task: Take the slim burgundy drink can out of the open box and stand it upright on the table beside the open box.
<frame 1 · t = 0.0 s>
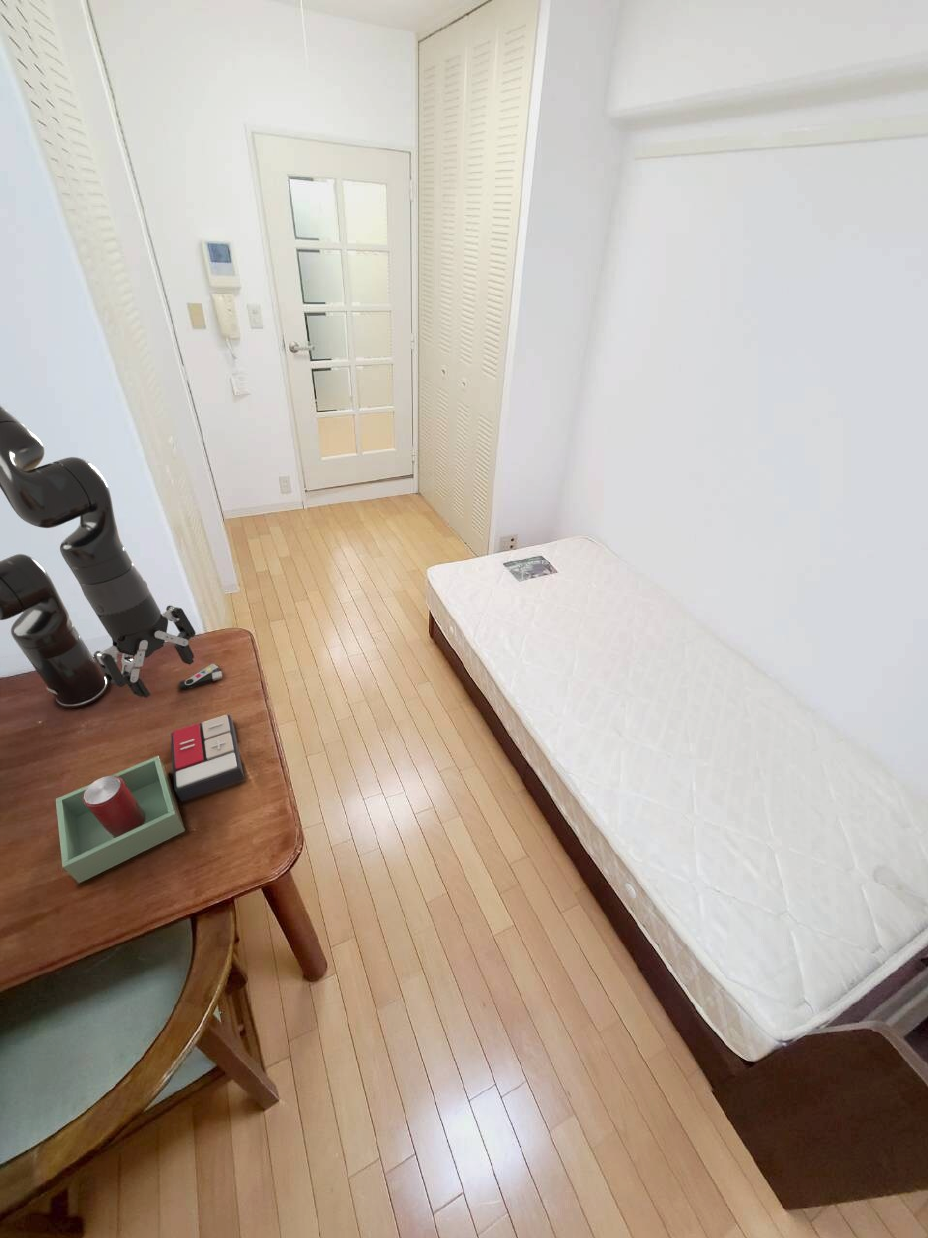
hand: (167, 678, 84), 22 cm above the table, tool pointing down, fingers open, 8 cm apart
open box: (128, 825, 88), on the table
calculator: (209, 761, 98), on the table
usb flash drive: (201, 678, 115), on the table
can: (127, 823, 87), point 1 cm above the table, touching open box
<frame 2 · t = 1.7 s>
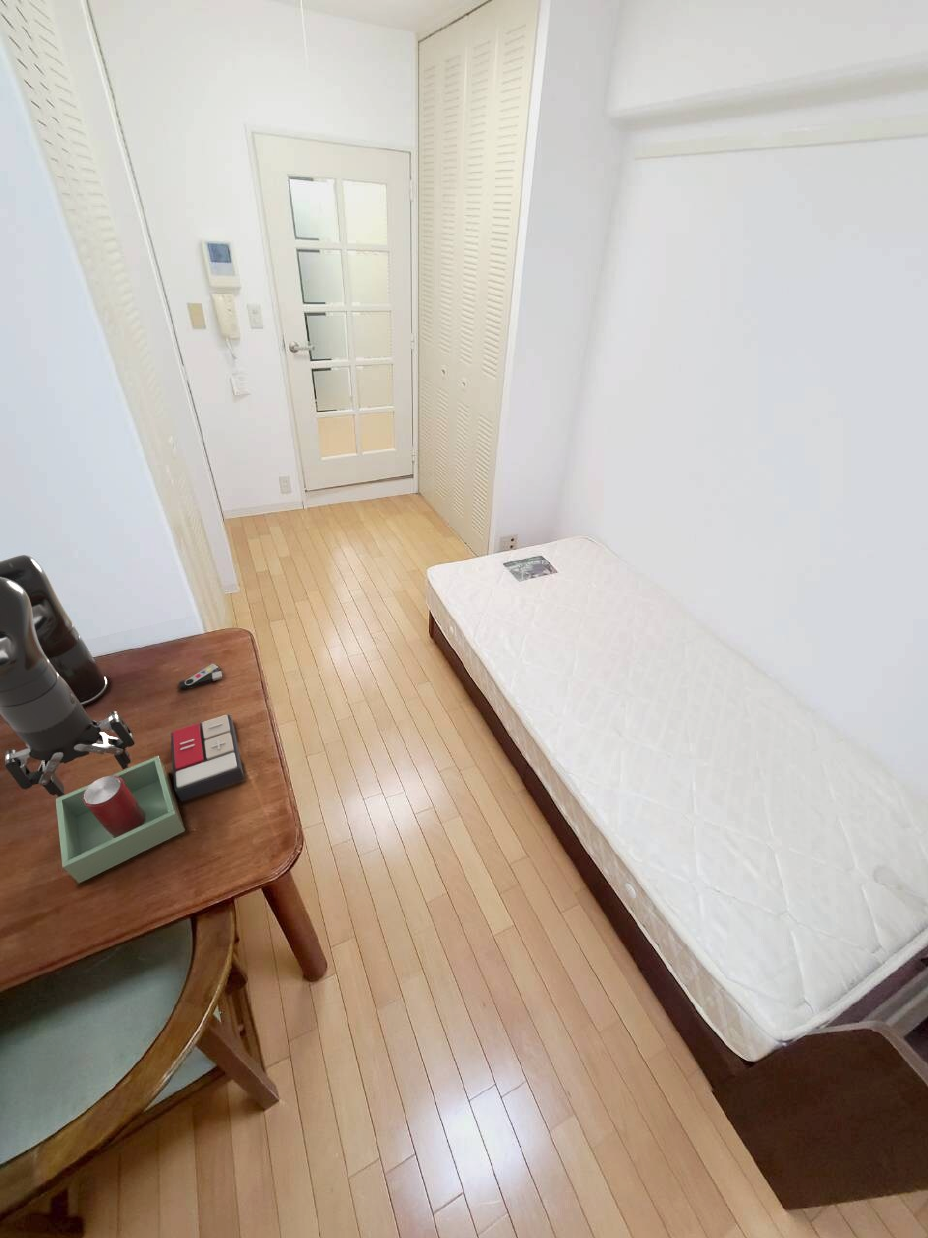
hand: (93, 777, 78), 14 cm above the table, tool pointing down, fingers open, 8 cm apart
nothing on the table moved.
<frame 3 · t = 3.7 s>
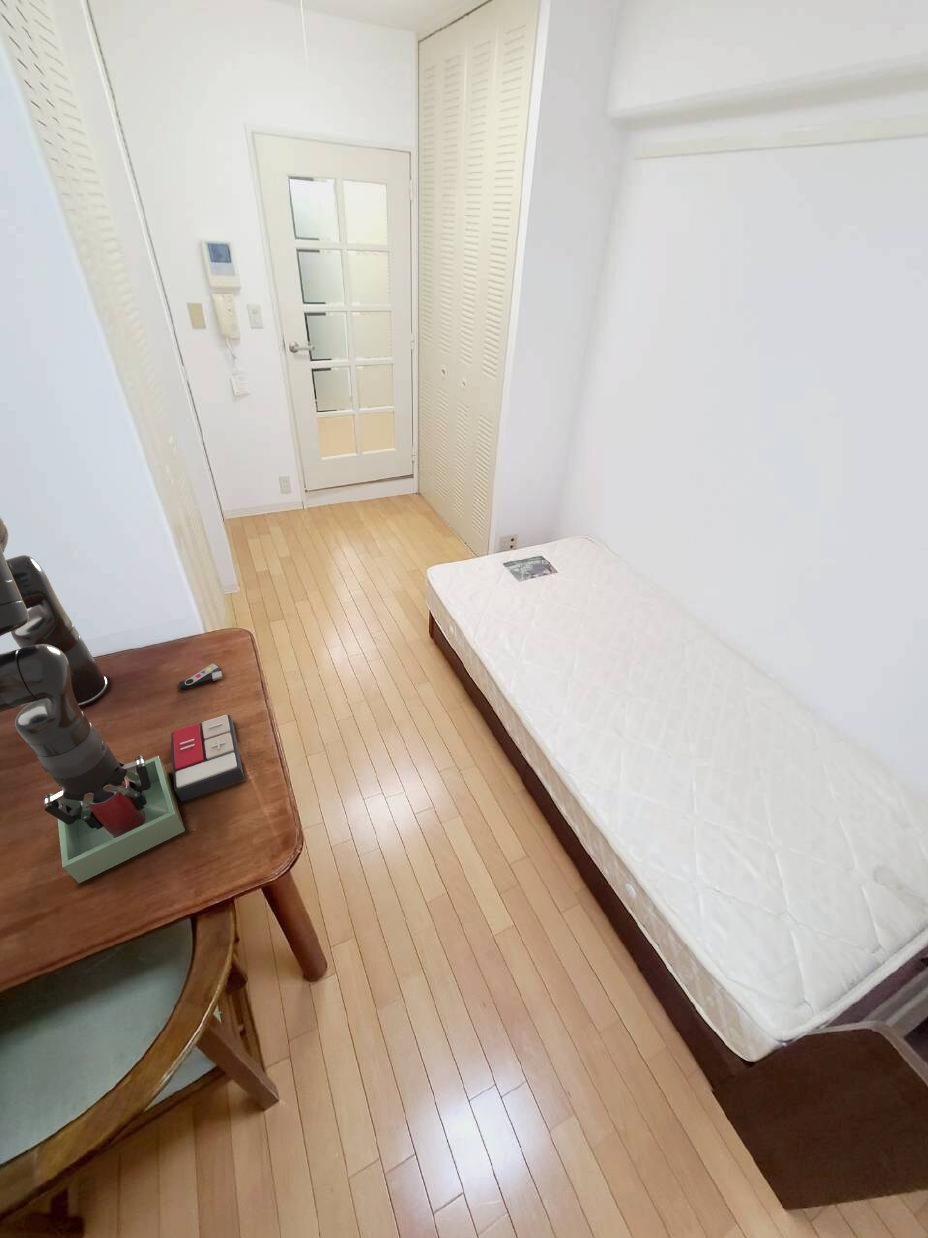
hand: (120, 814, 85), 4 cm above the table, tool pointing down, fingers closed on can, 5 cm apart
can: (127, 823, 87), point 1 cm above the table, touching open box, gripper
everything else where it was.
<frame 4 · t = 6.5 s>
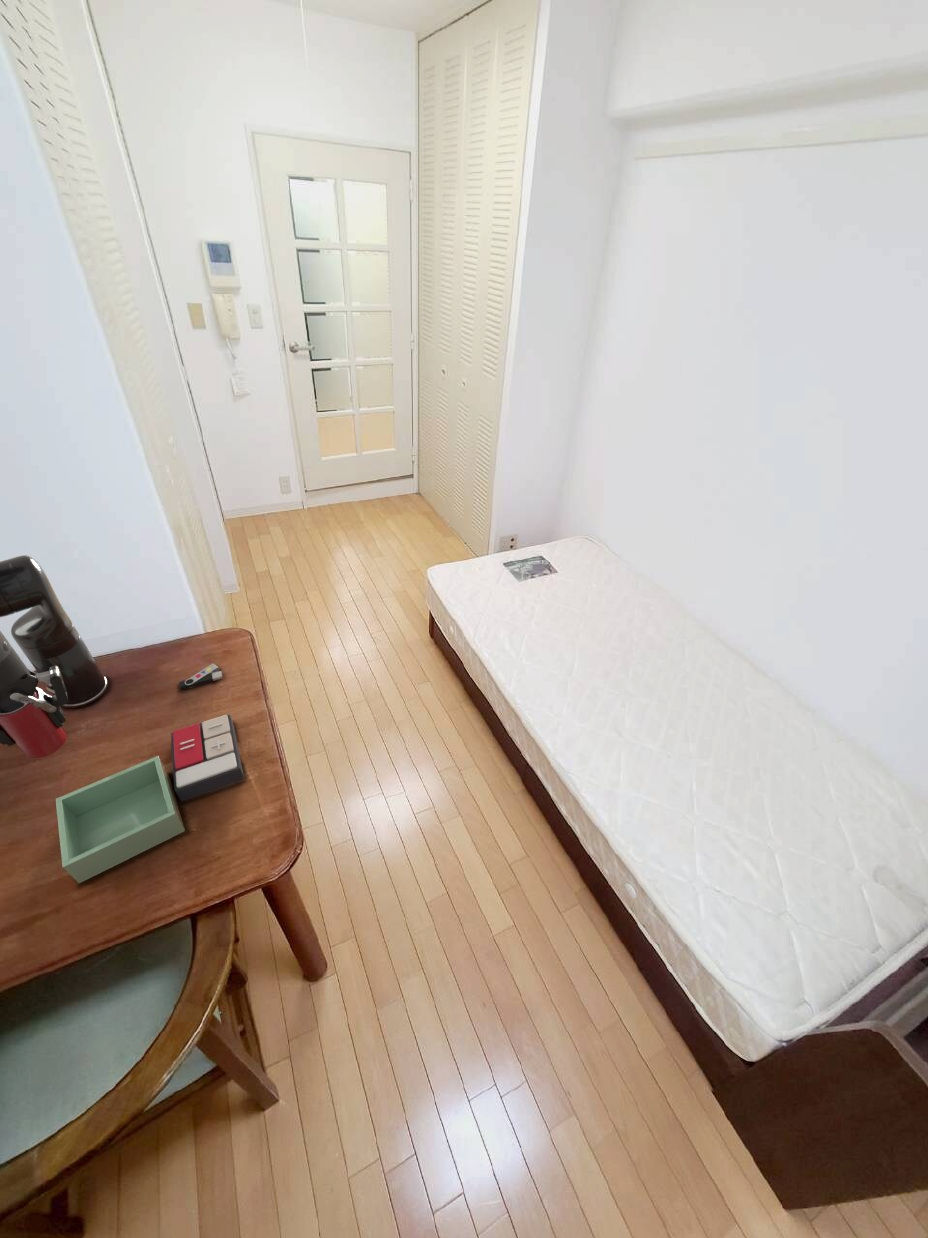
hand: (36, 732, 79), 19 cm above the table, tool pointing down, fingers closed on can, 5 cm apart
can: (45, 743, 81), point 16 cm above the table, touching gripper
everything else where it was.
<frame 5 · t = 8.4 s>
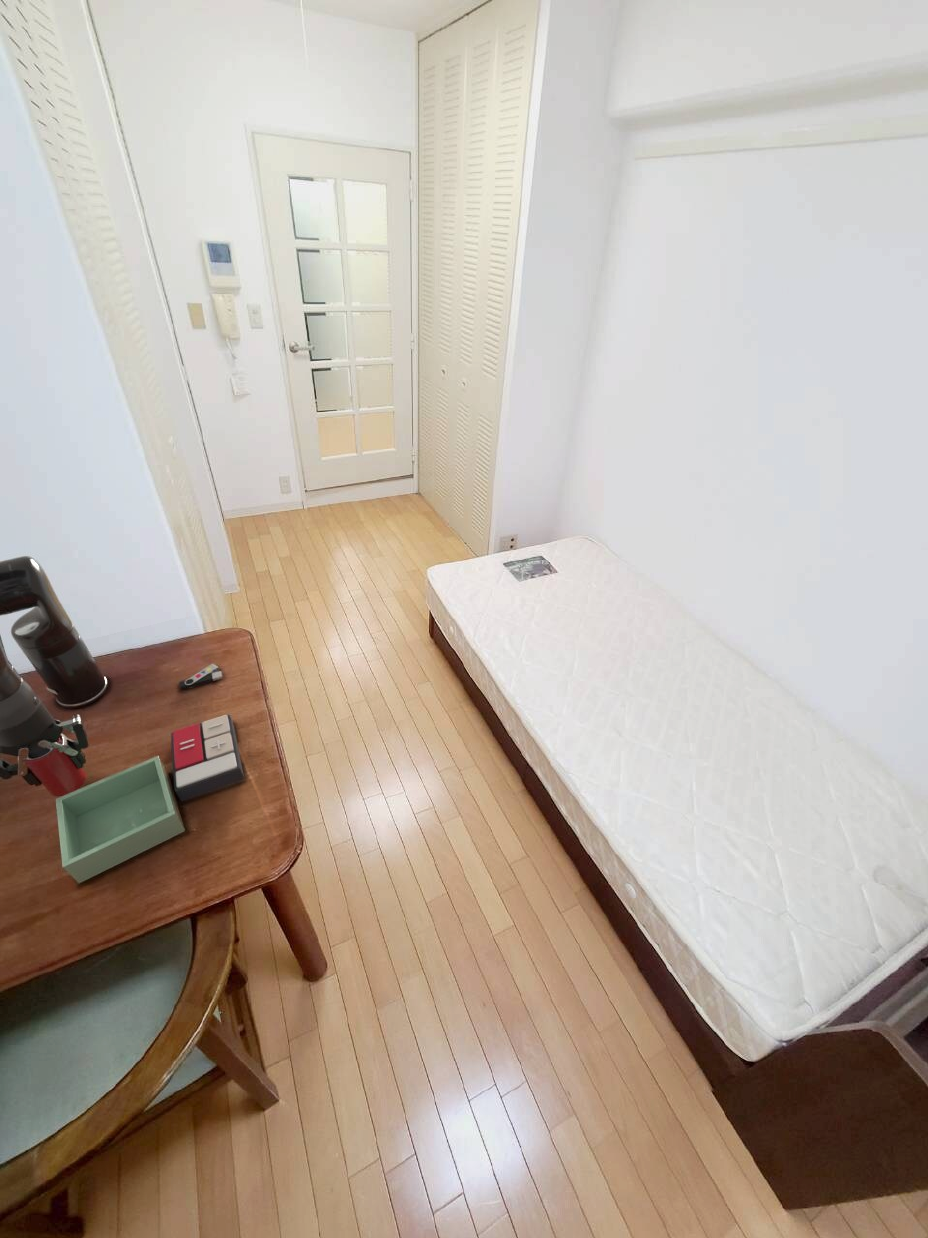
hand: (60, 773, 88), 6 cm above the table, tool pointing down, fingers closed on can, 5 cm apart
can: (68, 782, 90), point 3 cm above the table, touching gripper
everything else where it was.
when the fingers open (3 cm above the table, at t = 9.8 s): can stays where it is, on the table.
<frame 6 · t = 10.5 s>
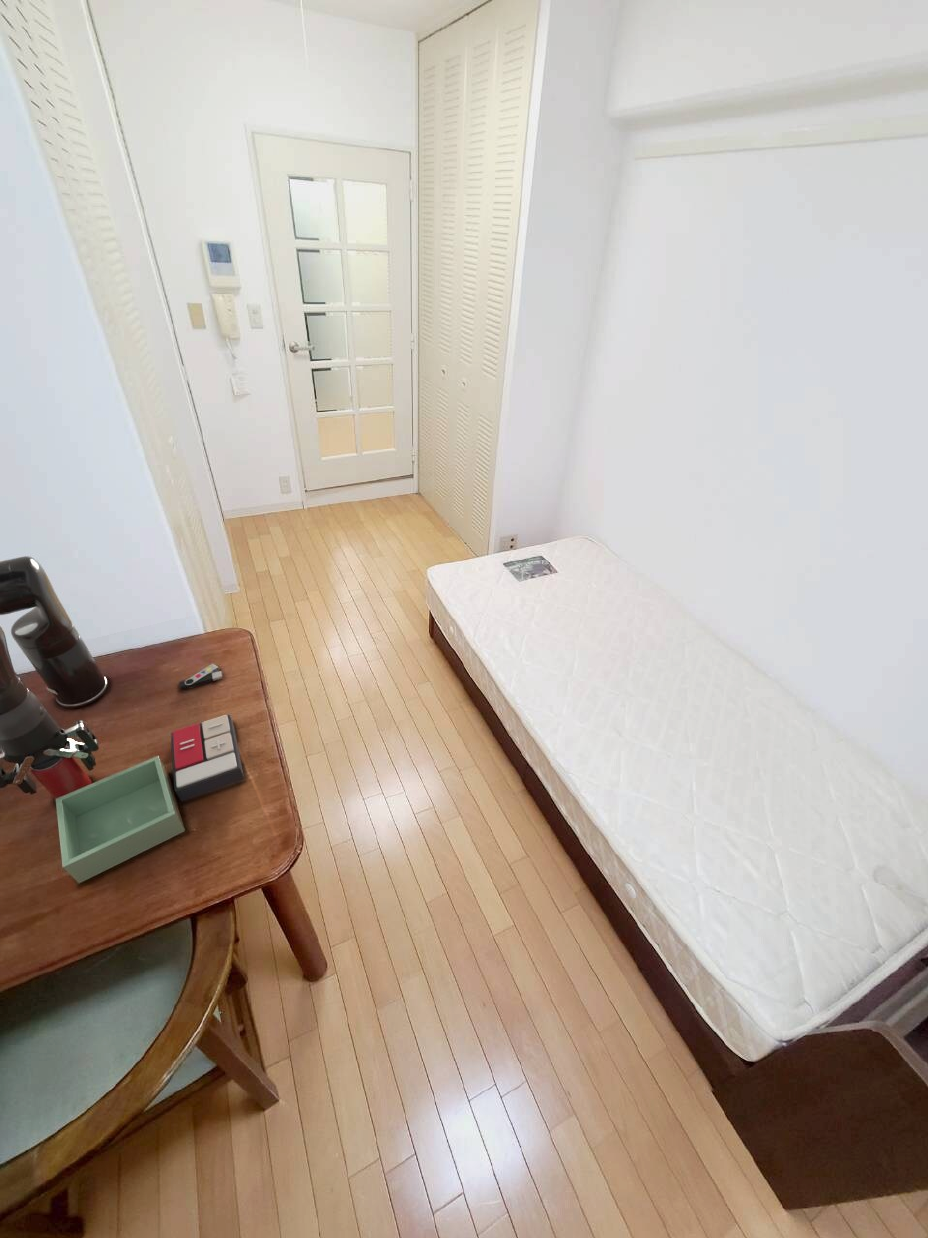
hand: (63, 778, 90), 4 cm above the table, tool pointing down, fingers open, 8 cm apart
can: (75, 791, 92), on the table
everything else where it was.
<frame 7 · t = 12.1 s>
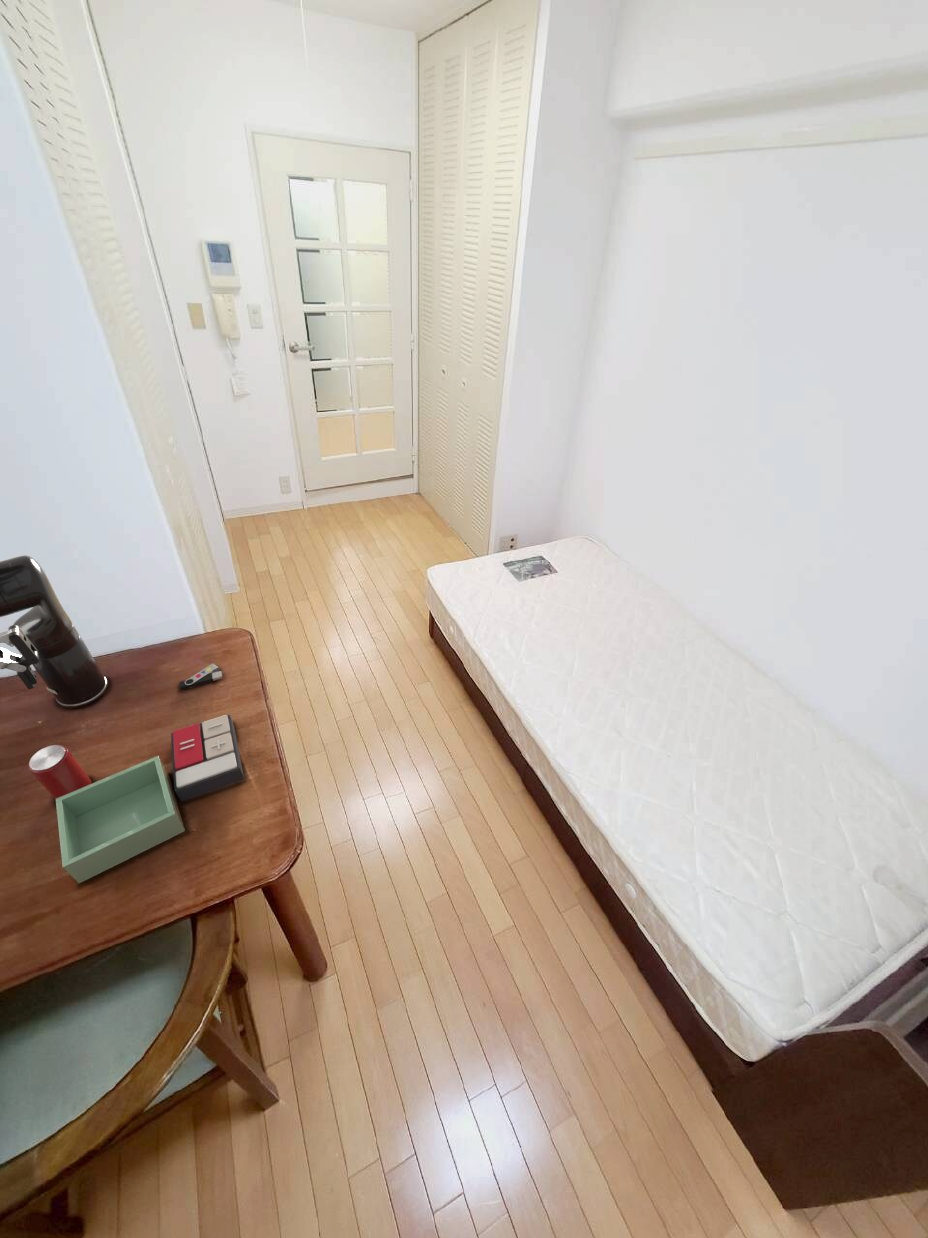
nothing on the table moved.
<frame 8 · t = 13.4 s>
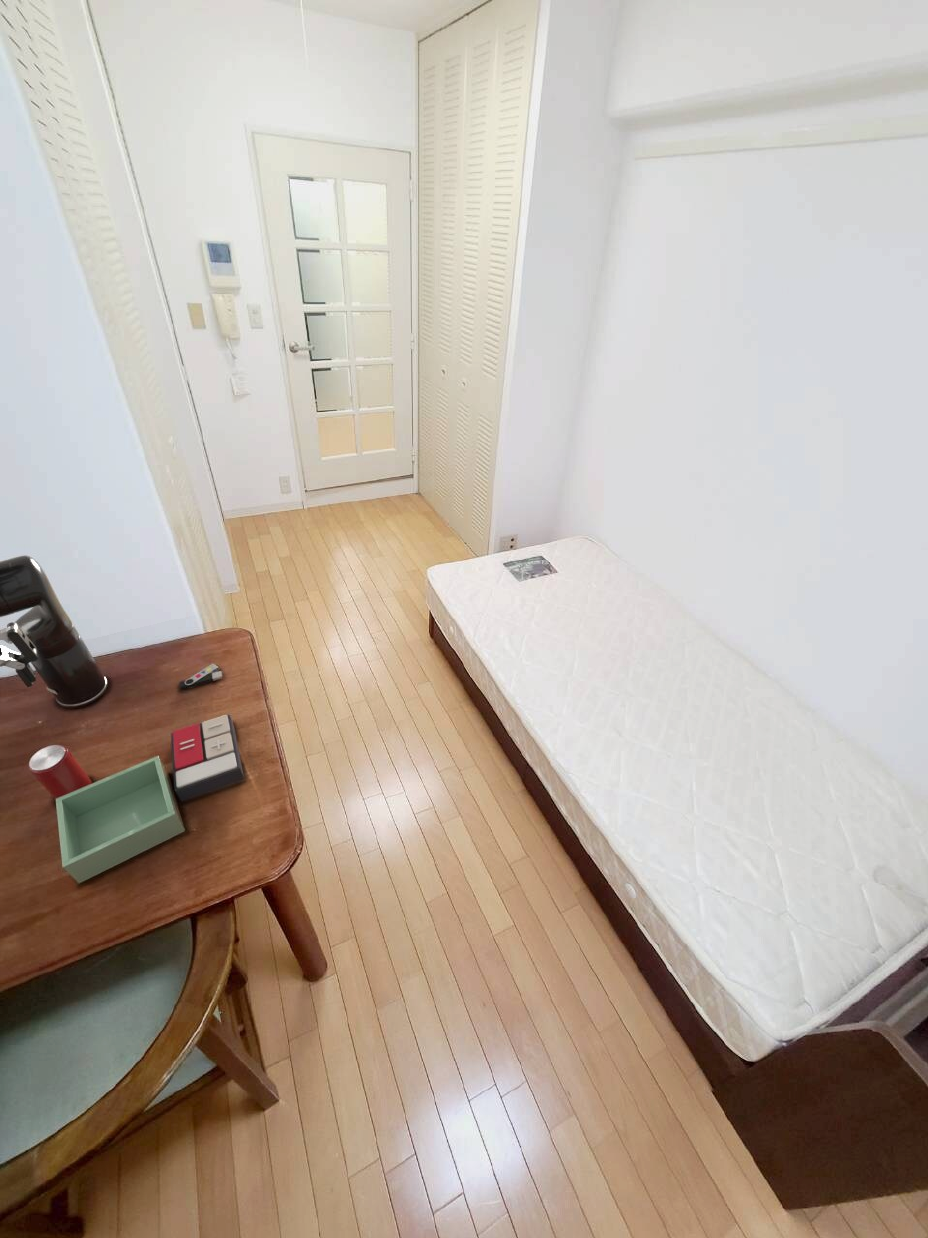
nothing on the table moved.
at the end: can inside the target area (0.2 cm from its centre), on the table; can tilted 0°; the gripper is holding nothing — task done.
